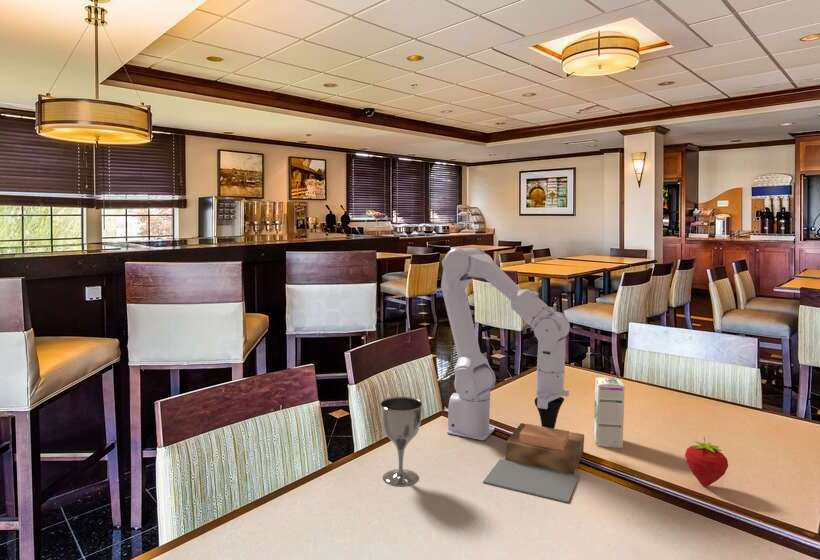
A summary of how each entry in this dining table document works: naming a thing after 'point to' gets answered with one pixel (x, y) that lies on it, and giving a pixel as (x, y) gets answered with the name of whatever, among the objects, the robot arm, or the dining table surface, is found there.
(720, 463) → the strawberry
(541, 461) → the brown box
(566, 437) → the peach rectangular box
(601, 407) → the syrup box
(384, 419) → the wine glass
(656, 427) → the dining table surface
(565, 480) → the mat
